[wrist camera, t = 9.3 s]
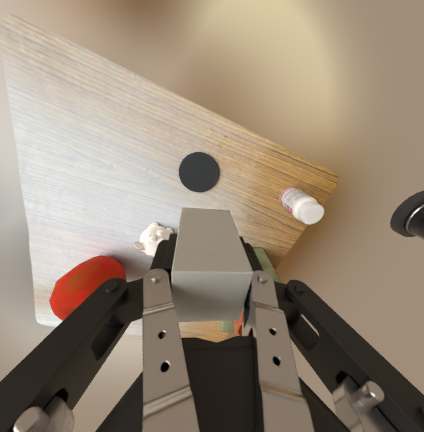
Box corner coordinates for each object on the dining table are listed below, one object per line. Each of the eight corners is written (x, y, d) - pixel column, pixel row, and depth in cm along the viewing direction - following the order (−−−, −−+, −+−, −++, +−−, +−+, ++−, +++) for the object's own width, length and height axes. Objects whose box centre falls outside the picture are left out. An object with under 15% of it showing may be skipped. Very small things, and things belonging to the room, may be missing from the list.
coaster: (220, 154, 32) (221, 154, 31) (216, 192, 35) (216, 193, 35) (179, 150, 31) (179, 150, 30) (178, 190, 34) (178, 190, 34)
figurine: (180, 230, 39) (178, 248, 33) (170, 250, 41) (166, 271, 35) (145, 217, 36) (136, 235, 31) (137, 240, 39) (127, 260, 33)
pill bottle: (274, 200, 37) (294, 219, 30) (289, 182, 35) (314, 197, 28) (289, 210, 39) (311, 230, 31) (304, 193, 37) (332, 210, 29)
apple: (144, 257, 41) (122, 313, 29) (125, 286, 45) (99, 347, 33) (90, 235, 37) (38, 290, 25) (75, 270, 41) (24, 331, 29)
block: (229, 210, 14) (254, 272, 8) (222, 247, 16) (239, 321, 10) (182, 207, 14) (171, 271, 8) (180, 245, 16) (171, 322, 10)
